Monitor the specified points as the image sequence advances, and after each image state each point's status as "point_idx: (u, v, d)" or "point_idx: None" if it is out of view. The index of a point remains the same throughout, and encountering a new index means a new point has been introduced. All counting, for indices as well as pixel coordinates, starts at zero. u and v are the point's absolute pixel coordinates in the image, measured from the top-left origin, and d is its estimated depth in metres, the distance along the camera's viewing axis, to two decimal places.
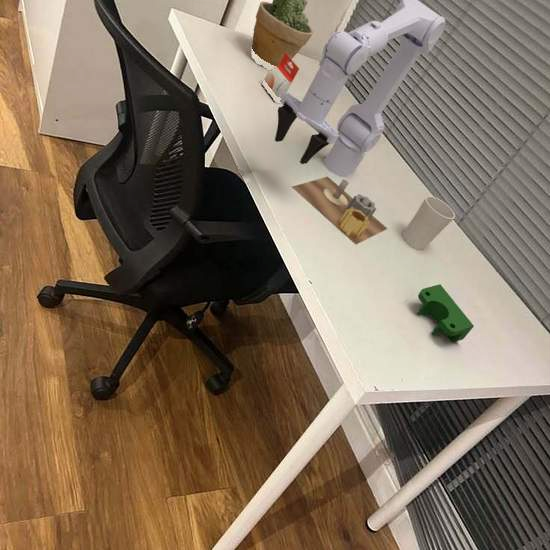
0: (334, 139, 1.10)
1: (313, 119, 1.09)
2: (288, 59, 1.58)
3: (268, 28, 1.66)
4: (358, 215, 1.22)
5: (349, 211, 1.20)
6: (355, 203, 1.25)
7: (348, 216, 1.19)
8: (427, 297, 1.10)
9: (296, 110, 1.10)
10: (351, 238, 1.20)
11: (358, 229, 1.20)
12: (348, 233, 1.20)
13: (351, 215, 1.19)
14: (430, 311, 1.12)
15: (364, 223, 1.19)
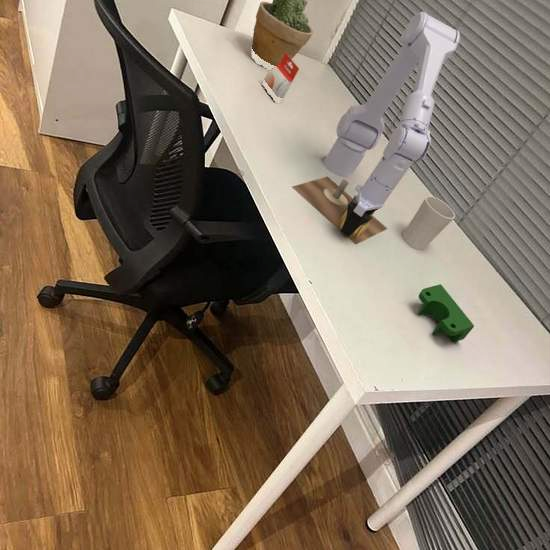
0: (359, 210, 1.12)
1: (362, 192, 1.16)
2: (288, 59, 1.58)
3: (268, 28, 1.66)
4: None
5: None
6: (355, 203, 1.25)
7: None
8: (428, 297, 1.10)
9: None
10: (351, 238, 1.20)
11: (358, 229, 1.20)
12: None
13: None
14: (431, 311, 1.12)
15: (364, 223, 1.19)
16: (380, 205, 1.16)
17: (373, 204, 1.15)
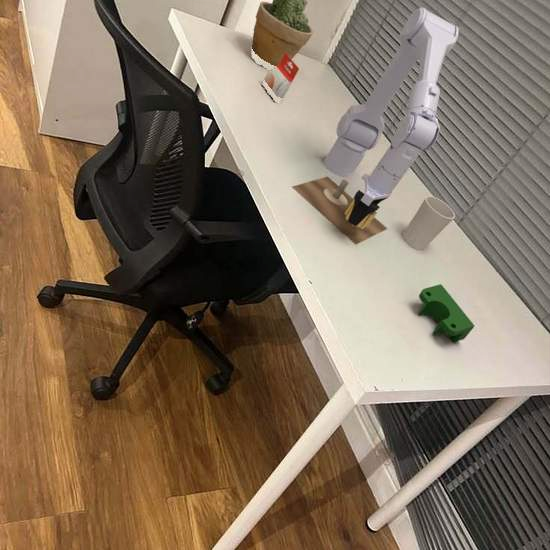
0: (366, 199, 1.10)
1: (369, 181, 1.14)
2: (288, 59, 1.58)
3: (268, 28, 1.66)
4: None
5: None
6: None
7: None
8: (428, 297, 1.10)
9: None
10: (351, 238, 1.20)
11: (365, 219, 1.18)
12: None
13: None
14: (431, 311, 1.13)
15: (371, 213, 1.18)
16: (387, 194, 1.14)
17: (380, 193, 1.13)
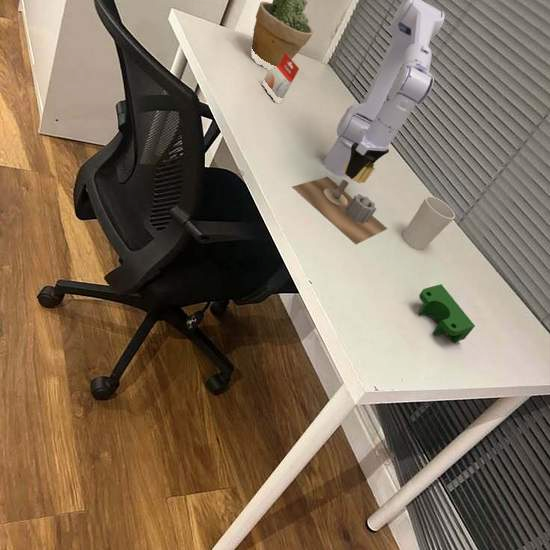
0: (361, 149, 1.15)
1: (366, 134, 1.19)
2: (288, 59, 1.58)
3: (268, 28, 1.66)
4: None
5: None
6: (355, 203, 1.25)
7: None
8: (428, 297, 1.10)
9: None
10: (351, 238, 1.20)
11: (361, 173, 1.23)
12: None
13: None
14: (432, 311, 1.13)
15: (368, 167, 1.22)
16: (383, 147, 1.19)
17: (376, 146, 1.18)
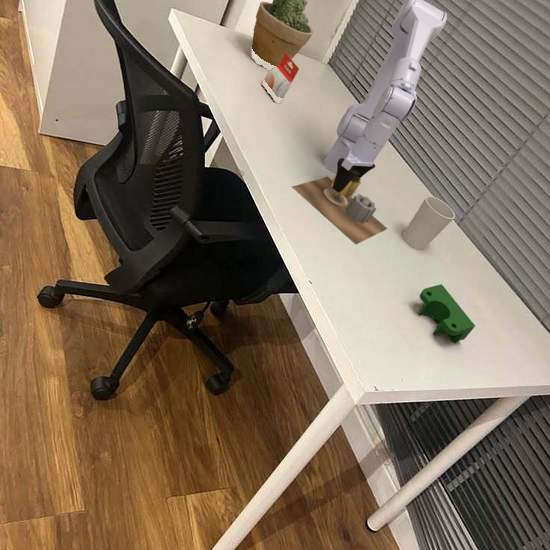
0: (346, 164, 1.19)
1: (352, 150, 1.23)
2: (288, 59, 1.58)
3: (268, 28, 1.66)
4: None
5: None
6: (355, 203, 1.25)
7: None
8: (428, 297, 1.10)
9: None
10: (351, 238, 1.20)
11: (348, 187, 1.26)
12: None
13: None
14: (432, 311, 1.13)
15: (354, 182, 1.26)
16: (369, 163, 1.22)
17: (362, 161, 1.22)
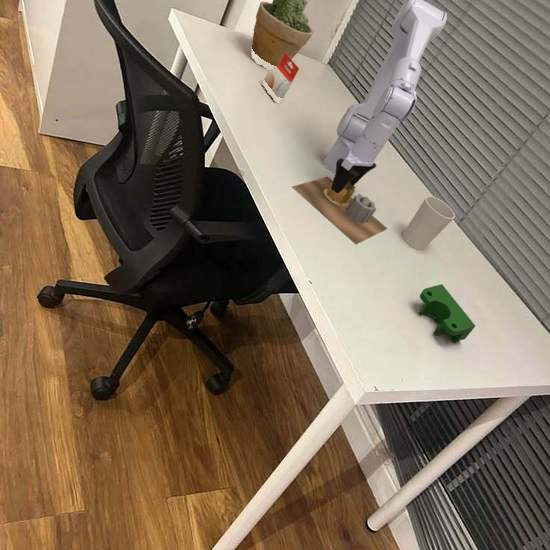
0: (346, 164, 1.19)
1: (352, 150, 1.23)
2: (288, 59, 1.58)
3: (268, 28, 1.66)
4: None
5: None
6: (355, 203, 1.25)
7: None
8: (429, 297, 1.11)
9: None
10: (351, 238, 1.20)
11: (343, 195, 1.28)
12: (333, 198, 1.28)
13: None
14: (432, 311, 1.13)
15: (349, 190, 1.27)
16: (369, 163, 1.22)
17: (362, 161, 1.22)
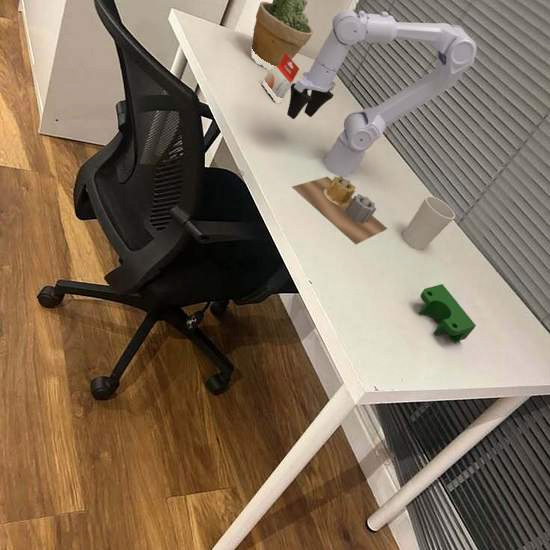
0: (298, 86, 1.23)
1: (307, 75, 1.27)
2: (288, 59, 1.58)
3: (268, 28, 1.66)
4: None
5: (336, 178, 1.29)
6: (355, 203, 1.25)
7: (334, 182, 1.27)
8: (429, 297, 1.11)
9: None
10: (351, 238, 1.20)
11: (343, 195, 1.28)
12: (333, 198, 1.28)
13: (337, 182, 1.28)
14: (433, 311, 1.13)
15: (349, 190, 1.27)
16: (322, 88, 1.26)
17: (315, 86, 1.26)
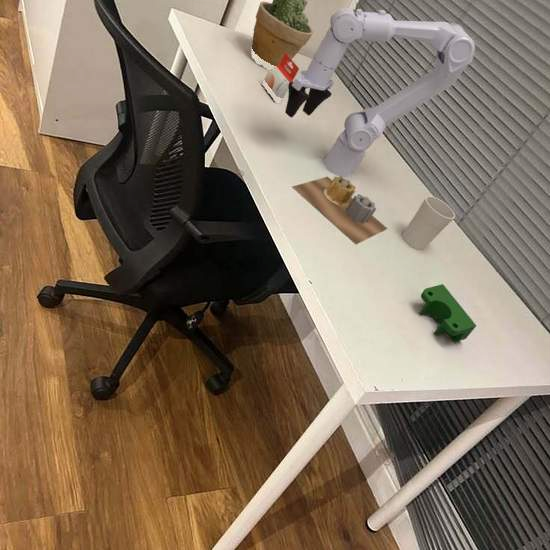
0: (296, 84, 1.23)
1: (305, 74, 1.27)
2: (288, 59, 1.58)
3: (268, 28, 1.66)
4: None
5: (336, 178, 1.29)
6: (355, 203, 1.25)
7: (334, 182, 1.27)
8: (430, 297, 1.11)
9: None
10: (351, 238, 1.20)
11: (343, 195, 1.28)
12: (333, 198, 1.28)
13: (337, 182, 1.28)
14: (433, 311, 1.13)
15: (349, 190, 1.27)
16: (320, 86, 1.27)
17: (313, 84, 1.26)
